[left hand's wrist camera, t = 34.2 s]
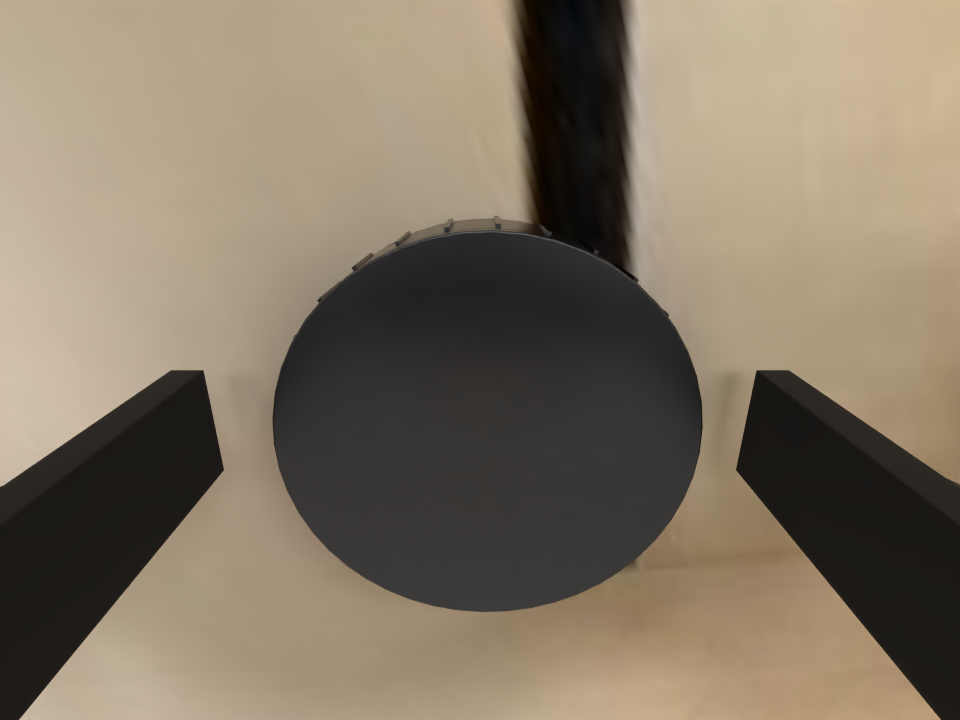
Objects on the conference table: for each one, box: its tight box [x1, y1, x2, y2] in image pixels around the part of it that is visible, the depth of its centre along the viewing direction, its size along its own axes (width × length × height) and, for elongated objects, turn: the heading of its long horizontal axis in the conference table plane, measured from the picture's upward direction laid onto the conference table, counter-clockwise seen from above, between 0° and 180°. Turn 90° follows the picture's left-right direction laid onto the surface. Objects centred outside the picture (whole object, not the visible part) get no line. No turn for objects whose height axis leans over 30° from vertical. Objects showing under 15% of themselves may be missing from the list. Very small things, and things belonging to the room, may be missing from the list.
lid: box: [273, 216, 702, 612], centre depth 14 cm, size 10×10×2 cm
